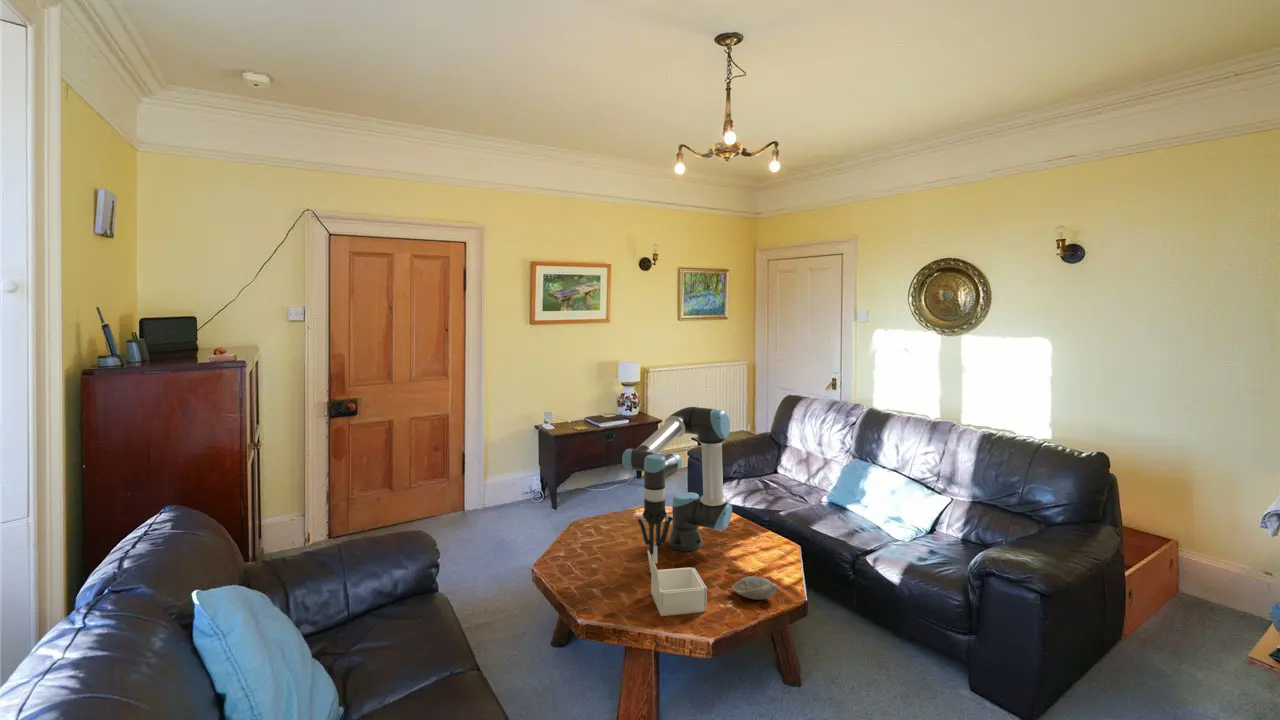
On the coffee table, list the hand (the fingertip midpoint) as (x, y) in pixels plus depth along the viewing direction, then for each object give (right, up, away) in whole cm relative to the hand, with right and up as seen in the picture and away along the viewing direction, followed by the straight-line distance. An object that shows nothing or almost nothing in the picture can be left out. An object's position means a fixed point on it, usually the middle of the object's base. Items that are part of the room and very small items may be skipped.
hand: (654, 561), depth 215 cm
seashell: (+37, -16, +8) cm, 41 cm away
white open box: (+8, -16, +3) cm, 18 cm away
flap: (0, -3, 0) cm, 3 cm away
